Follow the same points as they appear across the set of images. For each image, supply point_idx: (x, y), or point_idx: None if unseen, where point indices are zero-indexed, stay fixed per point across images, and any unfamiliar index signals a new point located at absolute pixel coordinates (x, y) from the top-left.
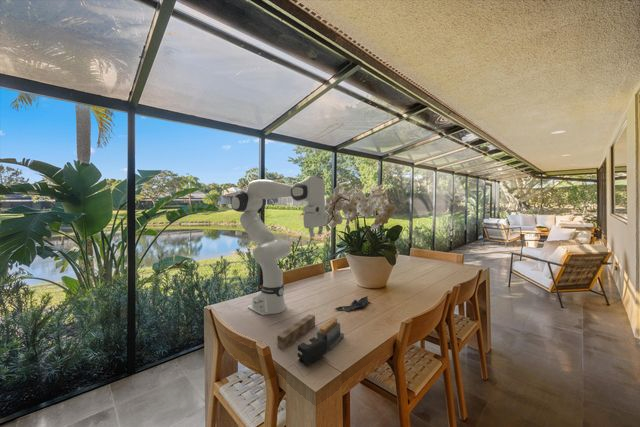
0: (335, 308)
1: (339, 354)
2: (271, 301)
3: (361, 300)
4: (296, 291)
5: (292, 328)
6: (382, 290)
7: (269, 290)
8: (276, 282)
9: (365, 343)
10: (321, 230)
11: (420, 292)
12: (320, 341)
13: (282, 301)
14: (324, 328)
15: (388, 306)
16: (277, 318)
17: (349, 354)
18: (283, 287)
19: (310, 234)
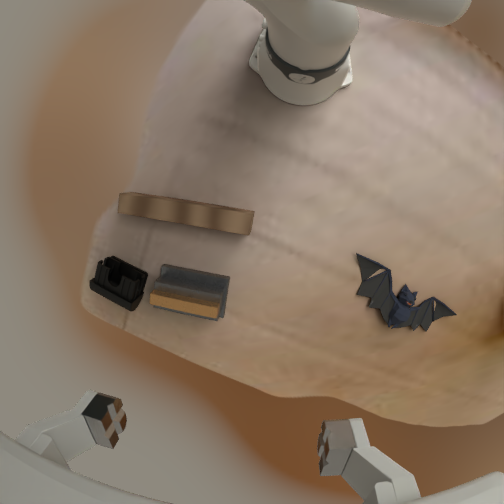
0: (361, 256)
1: (160, 320)
2: (269, 67)
3: (437, 303)
4: (445, 88)
5: (158, 209)
6: (495, 331)
7: (266, 46)
8: (285, 53)
9: (217, 357)
10: (348, 479)
11: (479, 400)
12: (122, 302)
13: (304, 91)
14: (154, 303)
15: (409, 369)
16: (248, 111)
17: (169, 336)
18: (323, 75)
19: (78, 409)
